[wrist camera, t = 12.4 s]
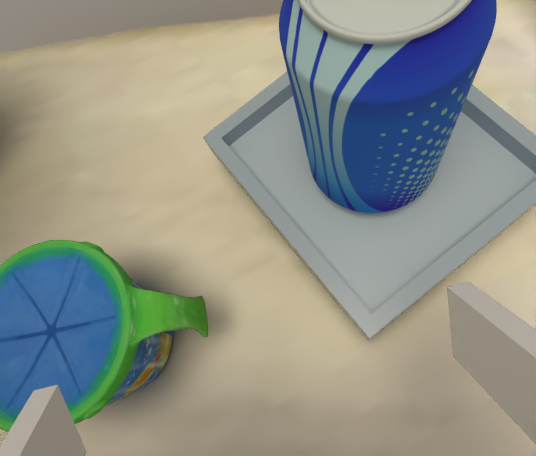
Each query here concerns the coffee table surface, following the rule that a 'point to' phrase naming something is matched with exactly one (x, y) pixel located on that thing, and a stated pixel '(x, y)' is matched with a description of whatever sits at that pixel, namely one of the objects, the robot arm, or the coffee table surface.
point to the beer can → (380, 90)
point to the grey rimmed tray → (388, 223)
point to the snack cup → (82, 328)
